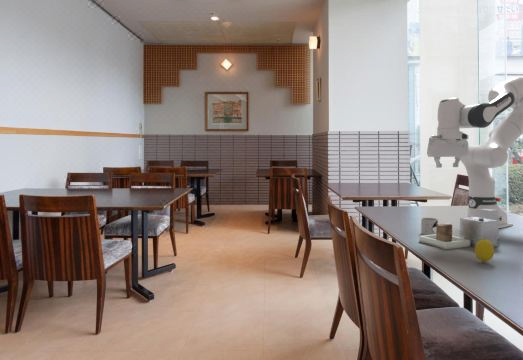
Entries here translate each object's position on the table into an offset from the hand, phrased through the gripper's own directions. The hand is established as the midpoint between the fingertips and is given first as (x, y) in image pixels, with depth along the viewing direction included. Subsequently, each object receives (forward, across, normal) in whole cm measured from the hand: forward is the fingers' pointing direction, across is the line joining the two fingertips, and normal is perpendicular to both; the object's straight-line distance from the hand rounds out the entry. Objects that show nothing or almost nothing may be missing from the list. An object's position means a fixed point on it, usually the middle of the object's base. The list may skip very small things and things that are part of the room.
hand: (447, 167), depth 184 cm
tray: (+29, -17, -16) cm, 37 cm away
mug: (+29, -6, +3) cm, 30 cm away
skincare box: (+29, +8, -15) cm, 34 cm away
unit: (+29, -6, -22) cm, 37 cm away
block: (+28, -17, -16) cm, 37 cm away
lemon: (+29, -26, -42) cm, 57 cm away
